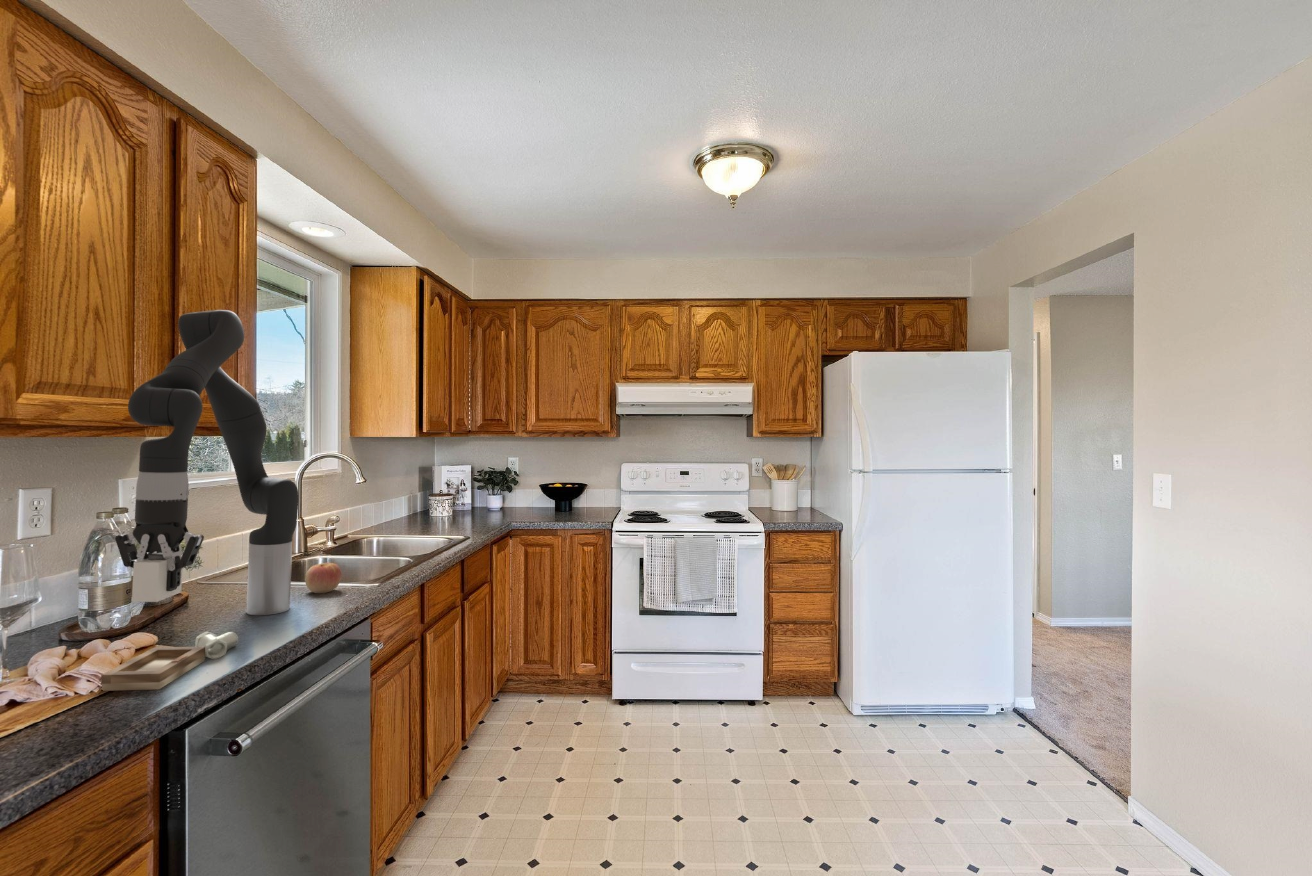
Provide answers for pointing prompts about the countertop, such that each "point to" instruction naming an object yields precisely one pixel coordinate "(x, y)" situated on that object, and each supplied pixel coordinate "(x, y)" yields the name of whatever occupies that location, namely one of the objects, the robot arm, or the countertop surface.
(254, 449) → the robot arm
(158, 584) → the white rectangular block
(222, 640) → the pipe fitting
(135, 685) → the shallow brown rectangular tray
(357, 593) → the countertop surface
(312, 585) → the apple
